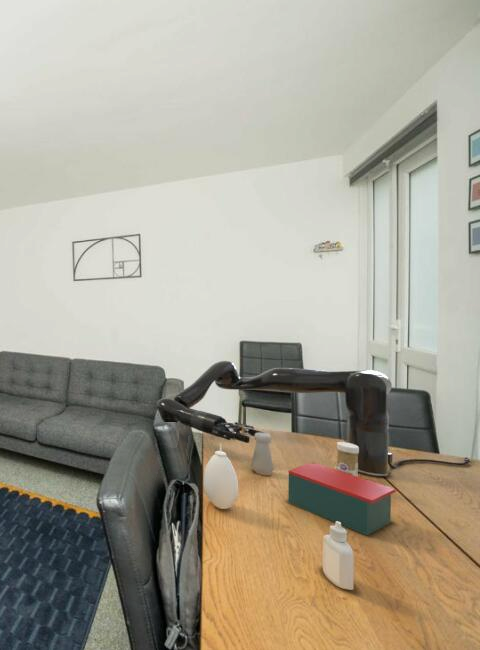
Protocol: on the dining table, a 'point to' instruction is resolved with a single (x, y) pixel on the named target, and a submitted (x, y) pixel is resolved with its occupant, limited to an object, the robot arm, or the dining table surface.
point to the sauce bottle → (221, 481)
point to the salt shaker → (262, 455)
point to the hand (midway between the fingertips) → (256, 437)
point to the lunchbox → (339, 505)
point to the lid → (343, 482)
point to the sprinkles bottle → (347, 458)
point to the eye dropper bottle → (338, 558)
